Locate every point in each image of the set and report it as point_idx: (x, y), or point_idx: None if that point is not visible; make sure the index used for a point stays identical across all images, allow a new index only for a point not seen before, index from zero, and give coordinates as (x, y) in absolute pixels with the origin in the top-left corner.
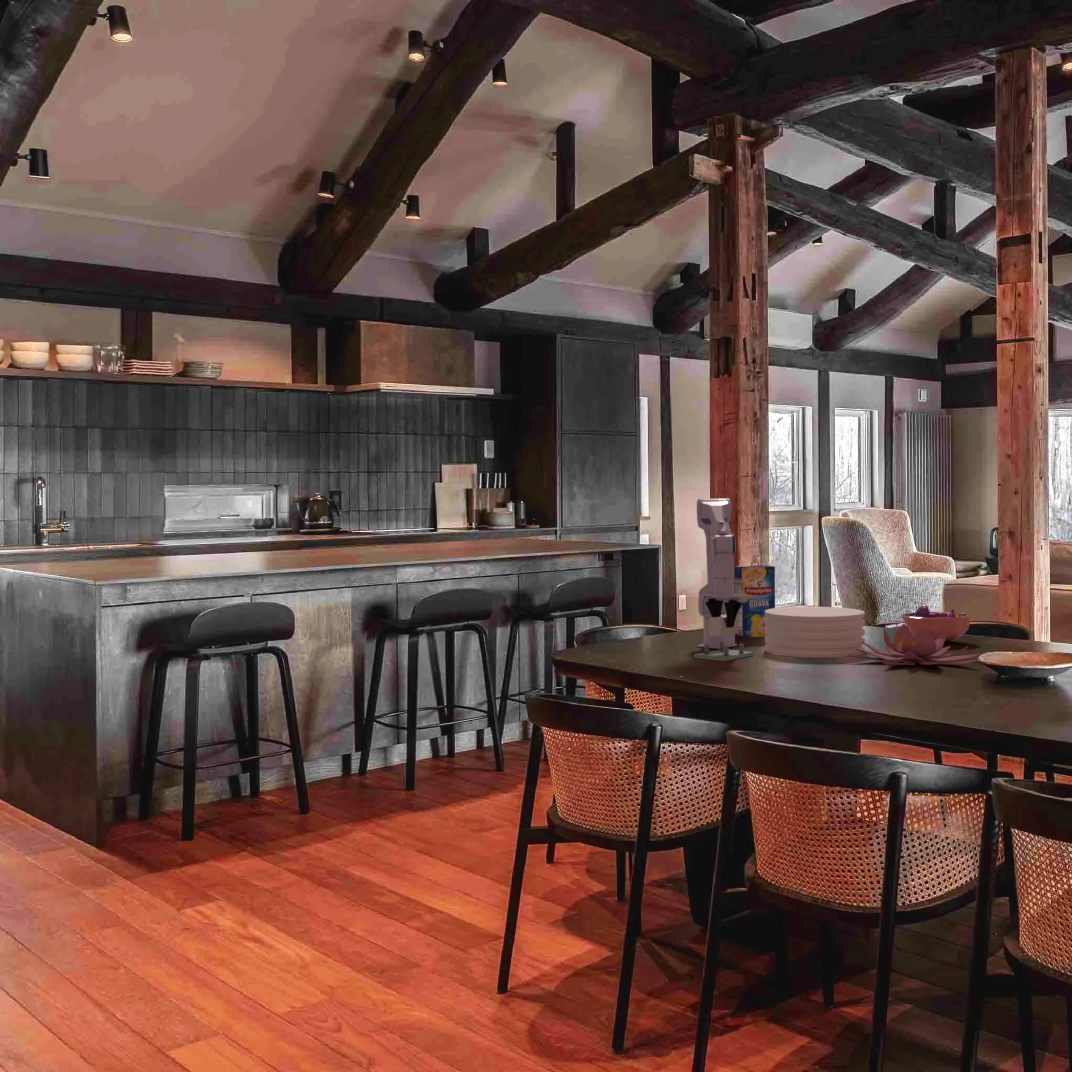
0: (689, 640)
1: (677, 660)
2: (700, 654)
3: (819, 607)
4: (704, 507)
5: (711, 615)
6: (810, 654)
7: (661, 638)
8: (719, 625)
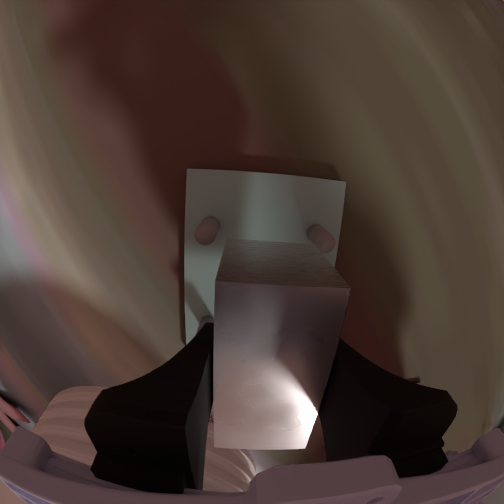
0: (450, 426)
1: (356, 89)
2: (321, 190)
3: None
4: None
5: (364, 358)
6: (69, 391)
7: (494, 404)
8: (233, 258)
